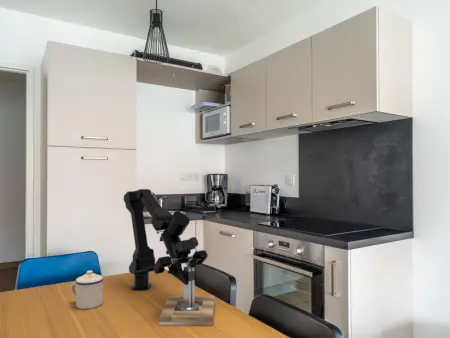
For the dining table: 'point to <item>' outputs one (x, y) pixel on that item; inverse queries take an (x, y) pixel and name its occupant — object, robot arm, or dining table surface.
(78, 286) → the teacup with lid
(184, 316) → the square wooden tray
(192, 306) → the round base pedestal
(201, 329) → the dining table surface
